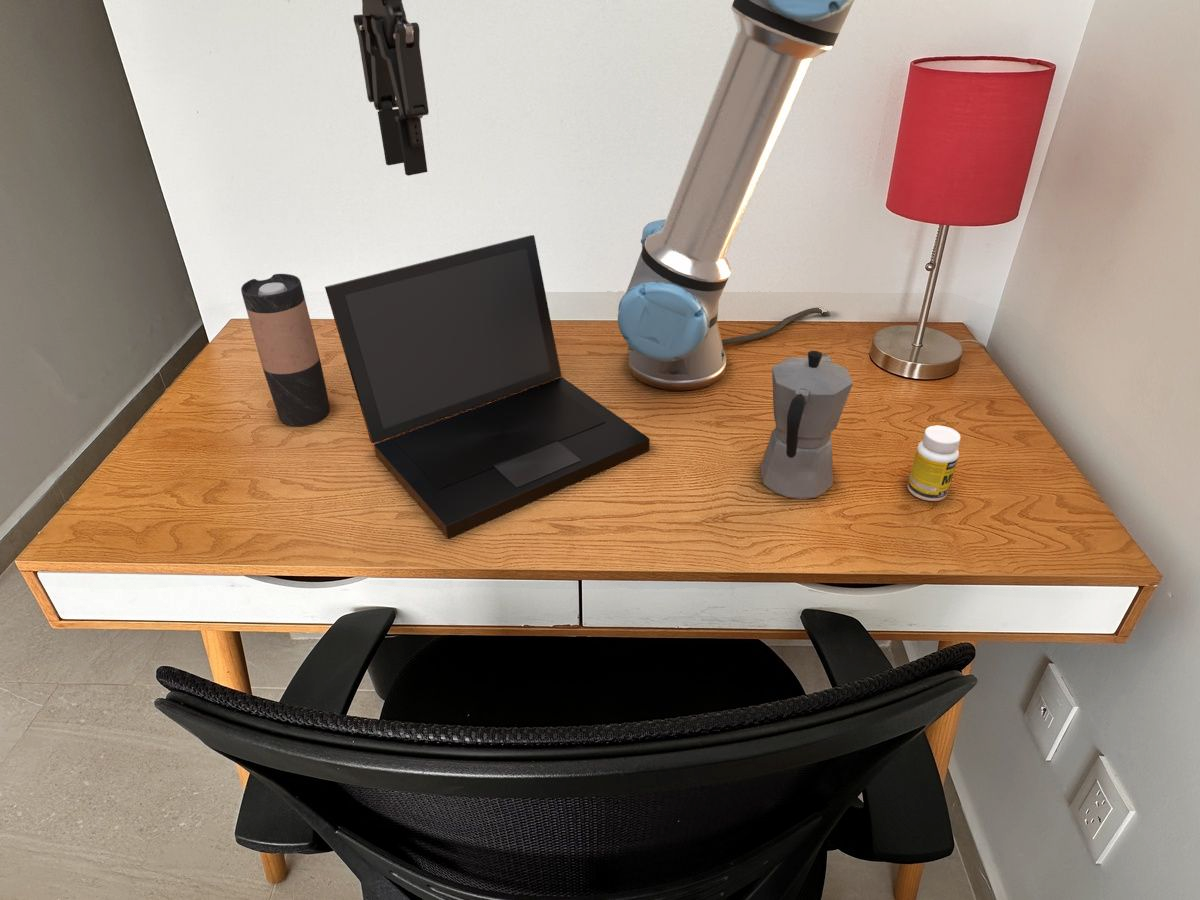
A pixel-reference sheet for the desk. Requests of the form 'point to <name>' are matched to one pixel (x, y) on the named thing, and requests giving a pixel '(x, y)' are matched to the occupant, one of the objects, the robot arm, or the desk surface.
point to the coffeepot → (804, 425)
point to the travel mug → (287, 348)
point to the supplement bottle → (934, 463)
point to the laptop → (508, 454)
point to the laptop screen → (445, 335)
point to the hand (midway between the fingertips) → (406, 167)
